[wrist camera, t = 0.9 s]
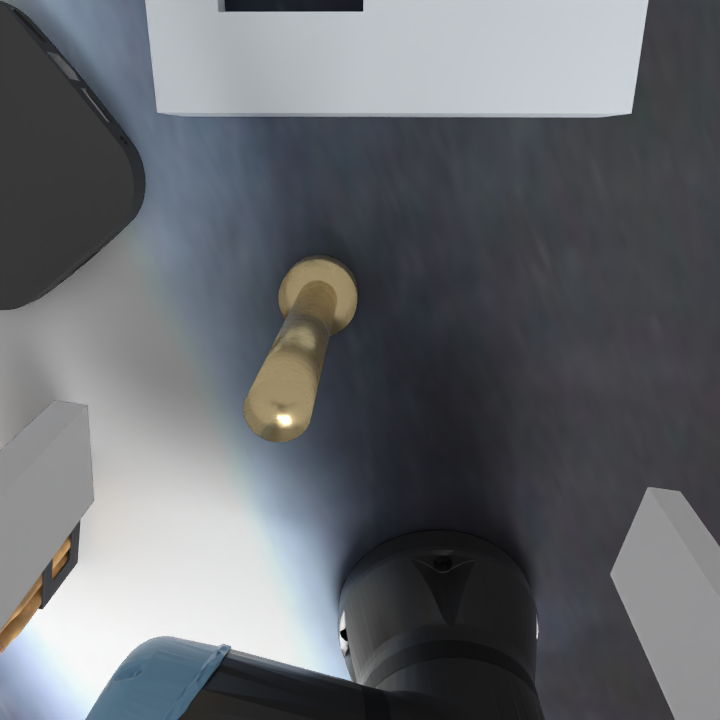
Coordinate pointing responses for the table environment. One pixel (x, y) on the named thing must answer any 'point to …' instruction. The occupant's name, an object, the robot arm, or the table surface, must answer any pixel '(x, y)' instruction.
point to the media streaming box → (55, 166)
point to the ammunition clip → (42, 588)
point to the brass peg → (300, 346)
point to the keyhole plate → (398, 59)
